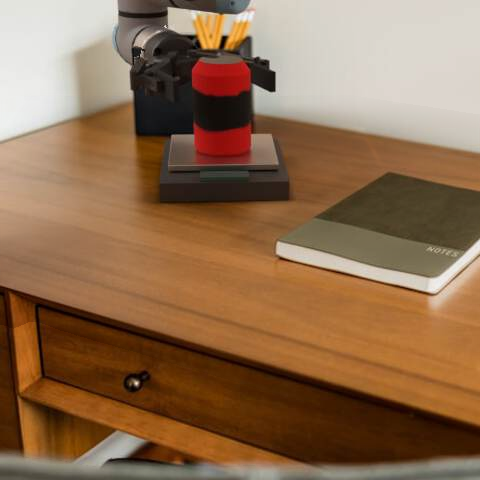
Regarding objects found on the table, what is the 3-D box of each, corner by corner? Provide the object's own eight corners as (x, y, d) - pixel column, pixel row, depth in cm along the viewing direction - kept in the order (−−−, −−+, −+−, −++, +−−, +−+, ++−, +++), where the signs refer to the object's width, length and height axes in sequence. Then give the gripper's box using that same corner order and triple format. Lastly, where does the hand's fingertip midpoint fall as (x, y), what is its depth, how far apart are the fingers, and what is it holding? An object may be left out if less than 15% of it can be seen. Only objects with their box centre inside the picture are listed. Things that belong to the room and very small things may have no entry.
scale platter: (168, 171, 114) (168, 165, 114) (171, 140, 127) (171, 134, 126) (278, 169, 116) (278, 163, 116) (271, 139, 129) (271, 133, 129)
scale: (160, 202, 111) (158, 178, 110) (165, 156, 129) (164, 135, 127) (289, 199, 114) (289, 176, 113) (277, 154, 131) (277, 134, 130)
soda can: (228, 137, 126) (226, 51, 122) (262, 149, 121) (262, 61, 117) (183, 147, 121) (179, 58, 117) (217, 160, 116) (214, 68, 112)
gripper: (244, 74, 141) (309, 105, 124) (84, 88, 128) (134, 125, 112) (243, 25, 138) (310, 51, 121) (80, 35, 125) (130, 65, 109)
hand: (226, 86), depth 117 cm, fingers open, 13 cm apart
